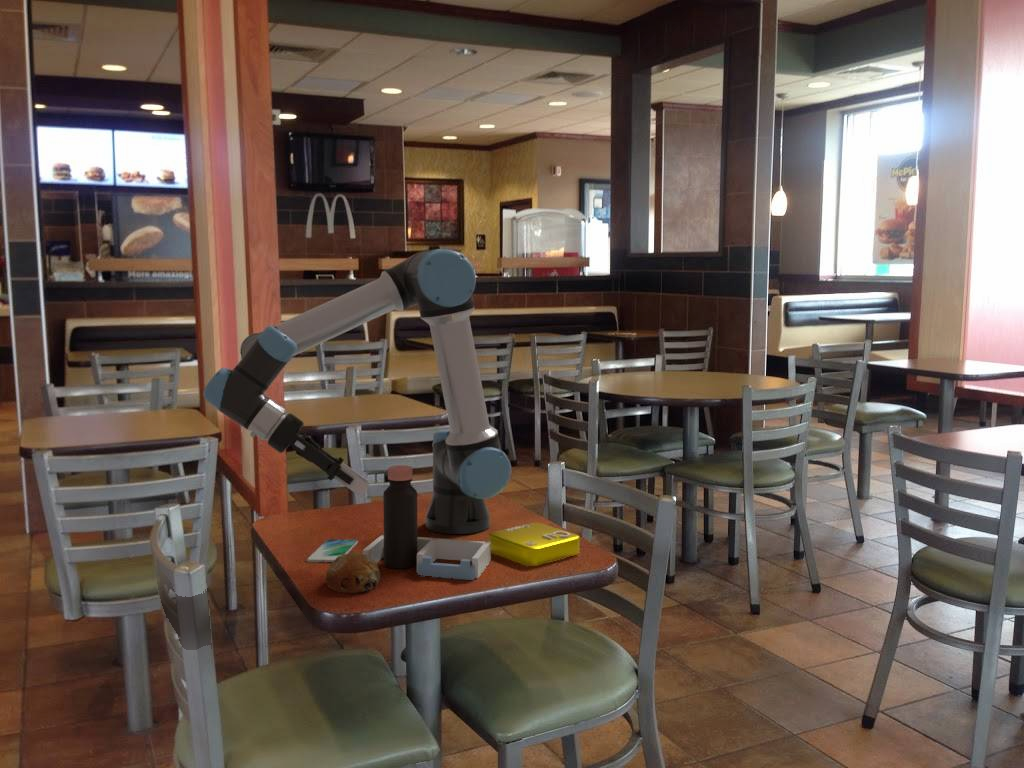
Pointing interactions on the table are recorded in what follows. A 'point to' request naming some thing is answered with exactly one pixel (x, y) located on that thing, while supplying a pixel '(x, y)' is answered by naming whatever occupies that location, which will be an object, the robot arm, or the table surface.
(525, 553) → the element tile
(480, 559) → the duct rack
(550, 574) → the table surface
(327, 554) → the smartphone
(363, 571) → the bread roll
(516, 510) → the table surface
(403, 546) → the vinegar
